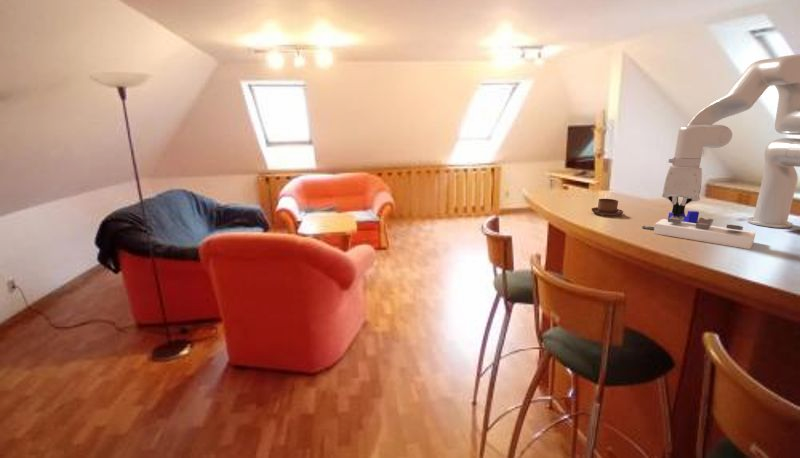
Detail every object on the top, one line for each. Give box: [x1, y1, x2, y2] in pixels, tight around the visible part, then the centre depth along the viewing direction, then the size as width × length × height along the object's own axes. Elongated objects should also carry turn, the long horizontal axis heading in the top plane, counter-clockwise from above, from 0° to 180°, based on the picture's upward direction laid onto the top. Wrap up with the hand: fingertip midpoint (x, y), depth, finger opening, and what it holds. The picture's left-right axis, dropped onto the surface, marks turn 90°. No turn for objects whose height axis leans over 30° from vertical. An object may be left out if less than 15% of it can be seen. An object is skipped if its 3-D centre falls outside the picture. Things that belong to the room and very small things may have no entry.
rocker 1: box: [696, 217, 714, 229], centre depth 135 cm, size 6×4×1 cm, turn 134°
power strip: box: [641, 218, 757, 250], centre depth 138 cm, size 10×31×4 cm, turn 45°
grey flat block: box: [667, 215, 685, 224], centre depth 141 cm, size 6×4×1 cm, turn 135°
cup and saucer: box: [591, 198, 624, 217], centre depth 170 cm, size 12×12×6 cm
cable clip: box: [667, 210, 700, 223], centre depth 154 cm, size 12×4×6 cm, turn 170°
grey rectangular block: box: [725, 224, 744, 230], centre depth 130 cm, size 6×4×1 cm, turn 136°
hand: (677, 215), depth 142 cm, fingers closed
